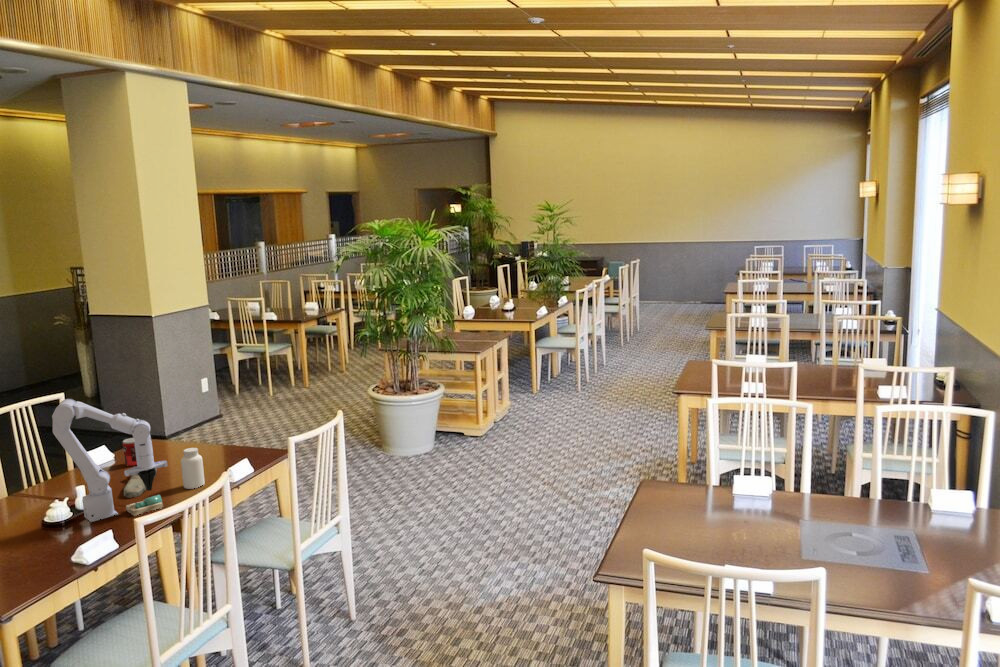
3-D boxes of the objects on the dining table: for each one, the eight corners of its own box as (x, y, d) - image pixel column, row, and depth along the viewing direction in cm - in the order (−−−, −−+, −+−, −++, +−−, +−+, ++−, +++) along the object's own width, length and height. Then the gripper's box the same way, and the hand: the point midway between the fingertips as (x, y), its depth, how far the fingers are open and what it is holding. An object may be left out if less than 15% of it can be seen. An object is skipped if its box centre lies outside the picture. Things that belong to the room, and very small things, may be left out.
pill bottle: (200, 489, 303) (196, 452, 301) (180, 489, 303) (175, 453, 301) (208, 482, 311) (204, 446, 309) (188, 482, 311) (184, 446, 309)
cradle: (134, 516, 277) (133, 511, 277) (126, 510, 284) (125, 505, 283) (163, 508, 284) (162, 502, 284) (155, 502, 290) (154, 497, 290)
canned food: (131, 461, 344) (127, 437, 343) (148, 460, 344) (145, 436, 342) (122, 467, 337) (118, 442, 335) (140, 466, 336) (136, 442, 335)
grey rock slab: (117, 503, 296) (146, 501, 299) (116, 490, 295) (145, 488, 298) (135, 470, 329) (161, 469, 332) (134, 459, 328) (160, 457, 331)
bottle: (162, 506, 286) (138, 513, 281) (158, 503, 289) (135, 510, 284) (161, 496, 286) (137, 502, 280) (157, 493, 289) (133, 500, 283)
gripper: (160, 447, 290) (165, 482, 292) (119, 456, 280) (124, 492, 282) (167, 450, 285) (172, 486, 287) (126, 460, 275) (131, 497, 277)
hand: (148, 489), depth 284 cm, fingers closed
